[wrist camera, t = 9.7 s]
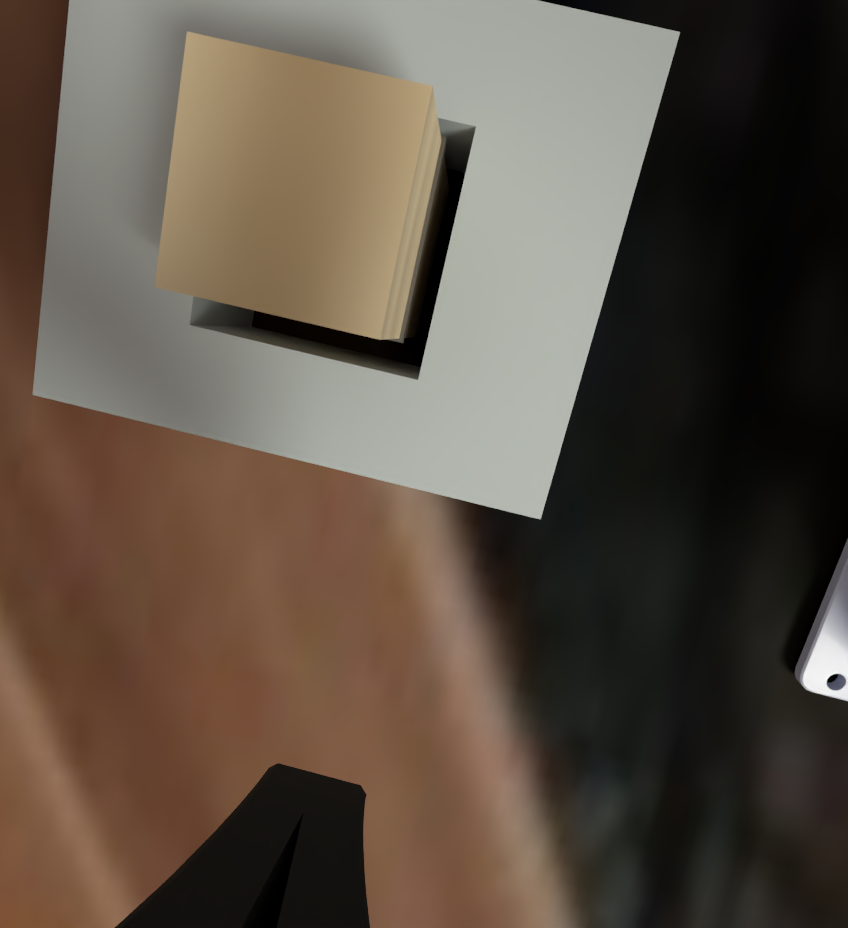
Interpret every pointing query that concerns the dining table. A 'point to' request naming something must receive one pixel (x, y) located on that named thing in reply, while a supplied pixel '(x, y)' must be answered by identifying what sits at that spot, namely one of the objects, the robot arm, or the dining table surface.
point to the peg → (303, 189)
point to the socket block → (466, 266)
